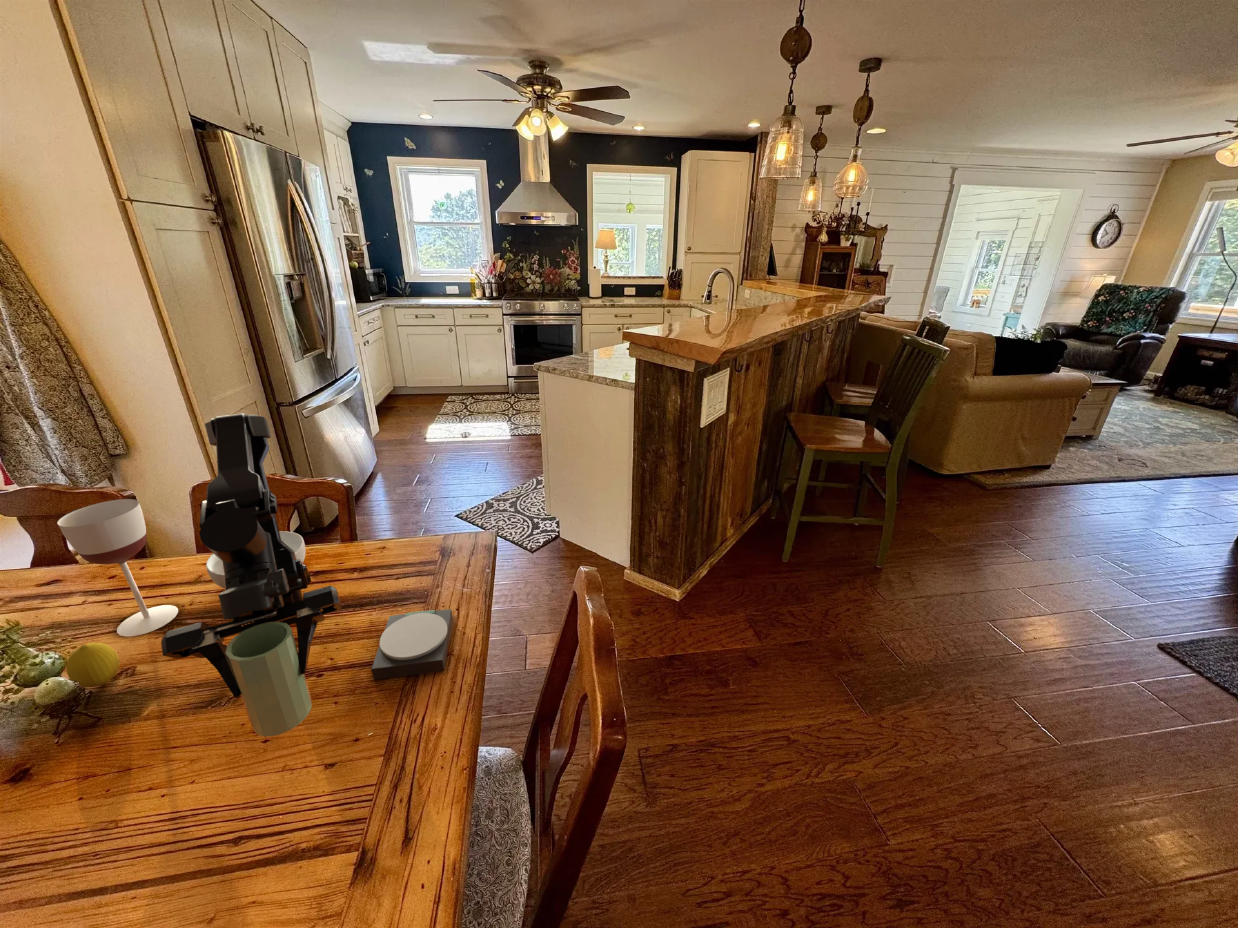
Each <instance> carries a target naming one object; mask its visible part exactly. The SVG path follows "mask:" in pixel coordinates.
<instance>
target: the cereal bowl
mask: <svg viewBox="0 0 1238 928" xmlns="http://www.w3.org/2000/svg"><path fill="white" fill-rule="evenodd" d="M279 533H280V537H281V540H282V541H283V542H284V543H285V544H286V545H287V546H289V547H290V548H291V549H292V550H293V551H294V552H295V556H296V560H298V559H300V560H301V562H302V563H303V564H304V561H305V558H306V553H307V552H306V544H305V540H304V538H303V536H302V535H300V534H299V533H296V532H293V531H283V530H279ZM205 567H206V571H207V573H208V576H209V578H210V579H211V581H212V582H213V583H214V584H215V585H216V586H218V587H220V588H222V589H225V590H226V585H225V574H224V568H223V561H222V560H220V559H219V558H218V557H217V556H216V555H215V554H214V553H213V552H212V554H211V555H210V556H208V559H207V561H206V563H205Z"/></svg>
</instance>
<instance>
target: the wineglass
mask: <svg viewBox="0 0 1238 928" xmlns="http://www.w3.org/2000/svg"><path fill="white" fill-rule="evenodd" d="M143 513H144V512H143V510H142V507H141V504H140V501H138V500H137V499H134V498H120V499H113V500H107V501H102V502H97V503H95V504H89V505H88V506H87V505H86V506H84V507H81V508H77V509H75V510H73V511H71V512H69V513H67V514H65V515H63V516H62V517H61V518H59V519H58V520H57V525H58V527H59V529H60V531H61V533H62V535H63V537H64V538H65V539H66V541H67V542H68V543H69V545H70V546H71V547H72V549H73V550H75V552H76V553H77V554H78V556H80V557H81V558H82V559H83V560H84V561H86V562H88V563H91V564H96V565H119V567H120V569H121V571H122V573H123V575H124V578H125V580H126V582H127V584H128V586H129V588H130V591H131V593H132V594H133V597H134V600H135V602H136V604H137V607H138V608H139V611H138V612H136V613H134V614H132V615H130V616H129V617H127V618H126V619H125V620H124V621H122V622H121V623H119V625H118V627H117V628H116V633H117V634H118V636H121V637H136V636H137V637H138V636H141V635H146V634H147V633H150V632H151V633H152V632H154V631H155V630H158V629H160V628H162V627H164V626H166V625H167V624H169V623H170V622H171V621H173V620H174V619H175V618H176V617H177V615H178V613H179V608H178V607H177V606H176V605H172V604H162V605H157V606H151V607H149V608H147V605H146V604H145V601H144V599H143V597H142V594H141V592H140V590H139V587H138V585H137V583H136V581H135V579H134V577H133V574H132V572H131V569H130V568H129V565H128V563H127V562H128V560H130V559H131V558H133V557H135V555H137V554H138V553H139V552H140V551H141V550H142V549H143V548H144V547H145V546H146V543H147V539H148V538H147V537H148V536H147V528H146V520H145V517H144V514H143Z"/></svg>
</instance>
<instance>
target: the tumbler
mask: <svg viewBox="0 0 1238 928" xmlns="http://www.w3.org/2000/svg"><path fill="white" fill-rule="evenodd" d="M225 653H226V657H227V659H228V662H229V665H230V668H231V670H232V673H233V676H234V679H235V682H236V684H237V687H238V689H239V692H240V698H241V700H242V704H243V706H244V710H245V712H246V715H247V717H248V720H249V723H250V725H251V727H252V730H253V732H254V733H255V734H256V735H257V736H261V737H267V738H268V737H276V736H280V735H282V734H286V733H288V732H290V731H291V730H293V729H294V728H296V727H297V726H299V725H300V724H301V723H302V722H303V721H305V720H306V719H307V717H308V716H309V715H310V713H311V710H312V707H313V701H312V696H311V693H310V692H311V691H310V689H309V686H308V681H307V679H306V674H303V675H302V674H301V670H300V666H299V655H298V646H297V643H296V640H295V635H294V633H293V630H292V627H291V625H288V624H286V623H282V622H266V623H263V624H259V625H255V626H253V627H251V628H249V629H246V630H244V631H242V632H241V633H239V634H236V635H234V637H233V638H232V639H231V640H230V641H229V642H228V643H227V647H226V652H225Z"/></svg>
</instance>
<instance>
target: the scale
mask: <svg viewBox="0 0 1238 928" xmlns="http://www.w3.org/2000/svg"><path fill="white" fill-rule="evenodd" d="M453 621H454V616H453V610H452V608H449V609H440V610H439V609H438V610H435V609H430V610H429V609H428V610H422V611H421V610H420V611H411V612H406V613H402V614H395V615H389V616H388V620H387V621H386V625H385V628H384V631H383V632H382V634H381V635H380V638H379V646H378V648H377V651H376V654H375V657H374V660H373V663H372V665H371V668H370V670H371V674H372V679H373V681H376V680H384V679H385V680H386V679H393V678H400V677H408V676H414V675H415V676H416V675H422V674H430V673H438V672H444V671H445V668H446V662H447V656H448V650H449V645H450V640H451V639H450V637H451V633H452V626H453Z"/></svg>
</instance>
